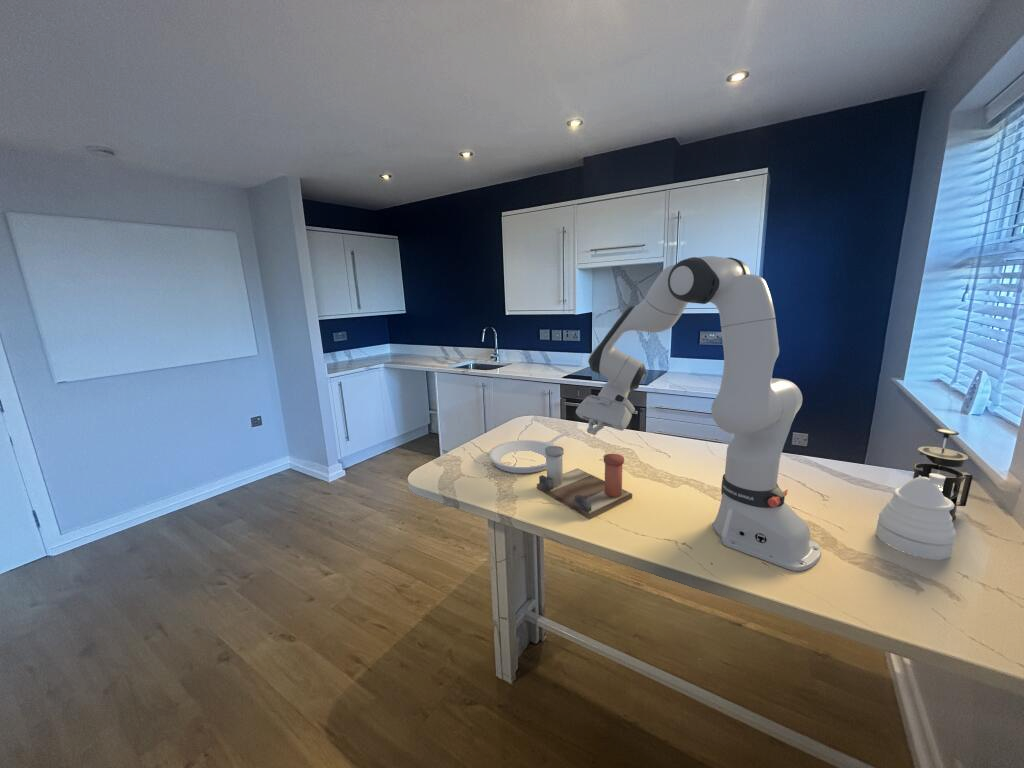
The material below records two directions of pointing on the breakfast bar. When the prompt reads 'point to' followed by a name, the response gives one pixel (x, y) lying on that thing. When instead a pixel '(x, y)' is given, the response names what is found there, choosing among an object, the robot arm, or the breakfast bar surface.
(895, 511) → the honey pot
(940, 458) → the french press
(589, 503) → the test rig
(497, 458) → the pan
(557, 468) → the grey plug
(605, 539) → the breakfast bar surface
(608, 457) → the red plug
